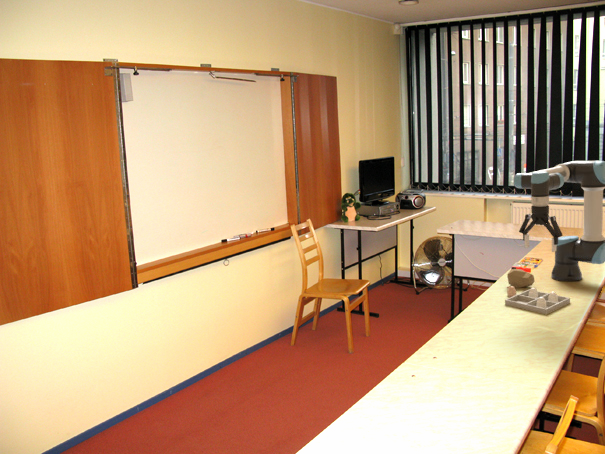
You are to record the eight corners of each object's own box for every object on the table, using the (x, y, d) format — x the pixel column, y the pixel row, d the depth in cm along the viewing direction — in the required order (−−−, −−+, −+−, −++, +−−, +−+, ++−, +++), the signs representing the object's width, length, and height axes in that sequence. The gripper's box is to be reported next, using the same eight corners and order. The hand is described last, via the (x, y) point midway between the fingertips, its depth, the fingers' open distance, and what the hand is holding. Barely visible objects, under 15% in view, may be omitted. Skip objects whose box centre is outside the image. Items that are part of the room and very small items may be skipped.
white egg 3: (551, 301, 256) (551, 289, 255) (559, 302, 252) (559, 291, 251) (546, 303, 253) (546, 292, 252) (554, 305, 250) (555, 293, 249)
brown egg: (510, 294, 271) (510, 284, 270) (518, 296, 268) (517, 285, 267) (505, 296, 269) (505, 286, 268) (513, 298, 265) (513, 287, 264)
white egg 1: (531, 296, 264) (531, 285, 263) (539, 298, 260) (539, 287, 259) (526, 298, 262) (526, 287, 260) (534, 300, 258) (534, 289, 257)
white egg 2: (539, 306, 250) (539, 295, 249) (548, 308, 247) (548, 296, 245) (534, 308, 248) (534, 297, 246) (543, 310, 244) (543, 299, 243)
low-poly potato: (500, 286, 286) (507, 282, 275) (503, 267, 289) (510, 263, 278) (529, 293, 284) (536, 289, 273) (531, 274, 287) (539, 269, 276)
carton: (529, 295, 268) (529, 289, 268) (570, 303, 252) (570, 297, 251) (505, 305, 257) (505, 299, 256) (546, 315, 240) (546, 309, 239)
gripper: (511, 204, 252) (511, 247, 256) (561, 208, 232) (561, 254, 235) (520, 202, 256) (520, 244, 260) (570, 205, 236) (570, 251, 240)
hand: (540, 249), depth 248 cm, fingers open, 13 cm apart
